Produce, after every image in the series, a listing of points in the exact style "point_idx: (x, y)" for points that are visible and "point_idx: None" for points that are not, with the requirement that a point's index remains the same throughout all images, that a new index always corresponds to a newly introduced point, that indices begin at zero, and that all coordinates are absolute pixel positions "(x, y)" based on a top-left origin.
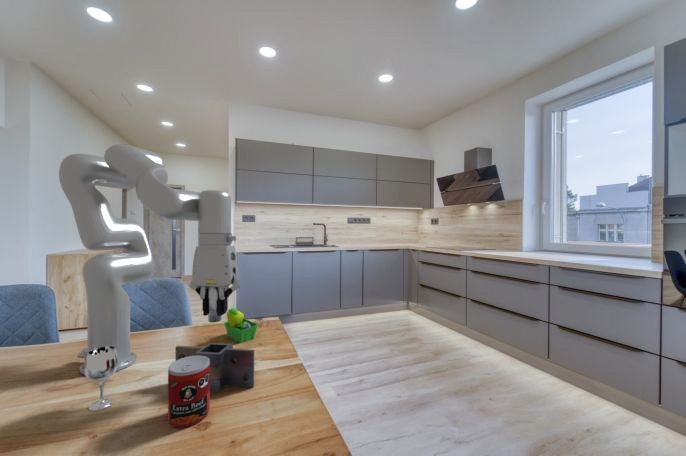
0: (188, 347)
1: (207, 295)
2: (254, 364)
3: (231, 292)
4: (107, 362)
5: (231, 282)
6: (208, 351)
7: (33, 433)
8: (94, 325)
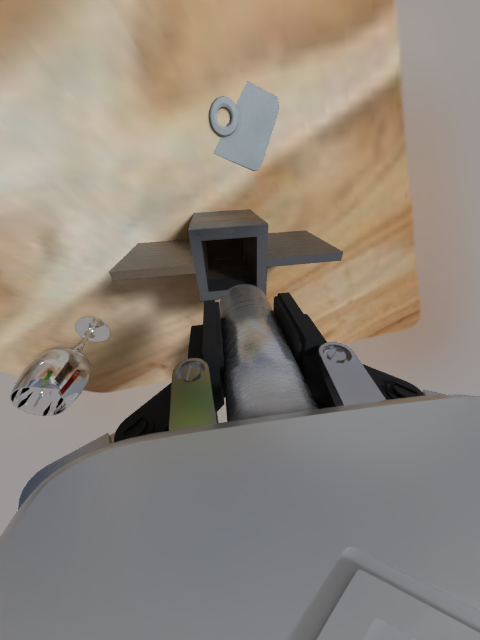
0: (153, 276)
1: (217, 401)
2: (272, 110)
3: (386, 383)
4: (81, 389)
5: (442, 407)
6: (203, 249)
7: (90, 378)
8: None
